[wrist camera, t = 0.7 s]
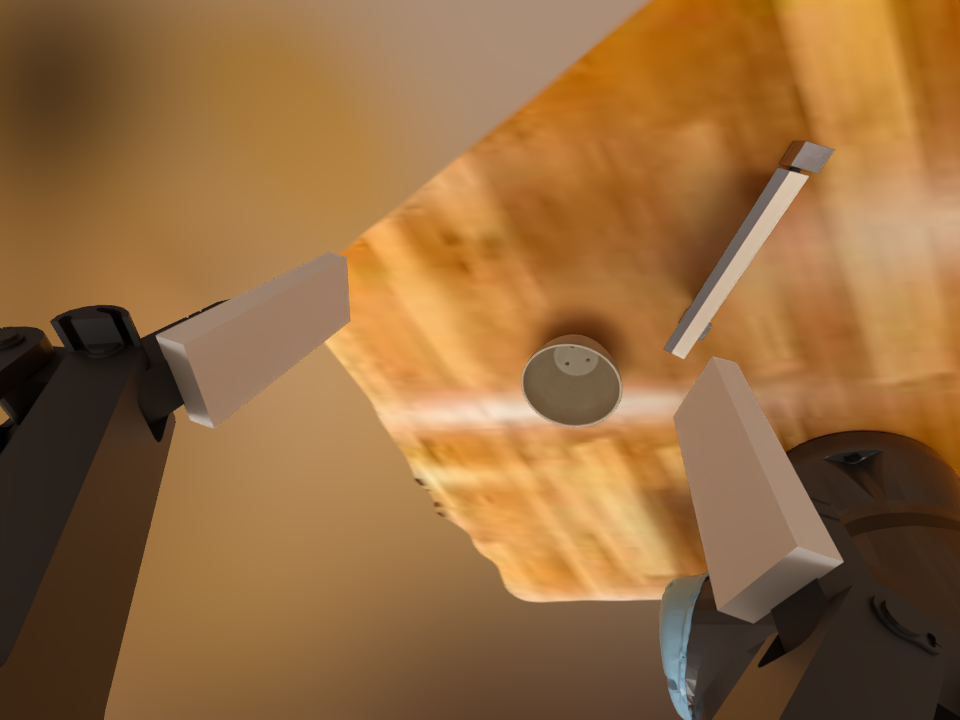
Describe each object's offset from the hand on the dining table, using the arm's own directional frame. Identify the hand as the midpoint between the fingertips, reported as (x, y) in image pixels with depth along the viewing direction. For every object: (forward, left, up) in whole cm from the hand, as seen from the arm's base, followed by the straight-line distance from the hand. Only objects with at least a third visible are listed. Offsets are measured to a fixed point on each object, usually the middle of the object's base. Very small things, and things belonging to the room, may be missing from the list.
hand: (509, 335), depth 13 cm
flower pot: (-6, +15, -28) cm, 32 cm away
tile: (-12, -1, -20) cm, 23 cm away
